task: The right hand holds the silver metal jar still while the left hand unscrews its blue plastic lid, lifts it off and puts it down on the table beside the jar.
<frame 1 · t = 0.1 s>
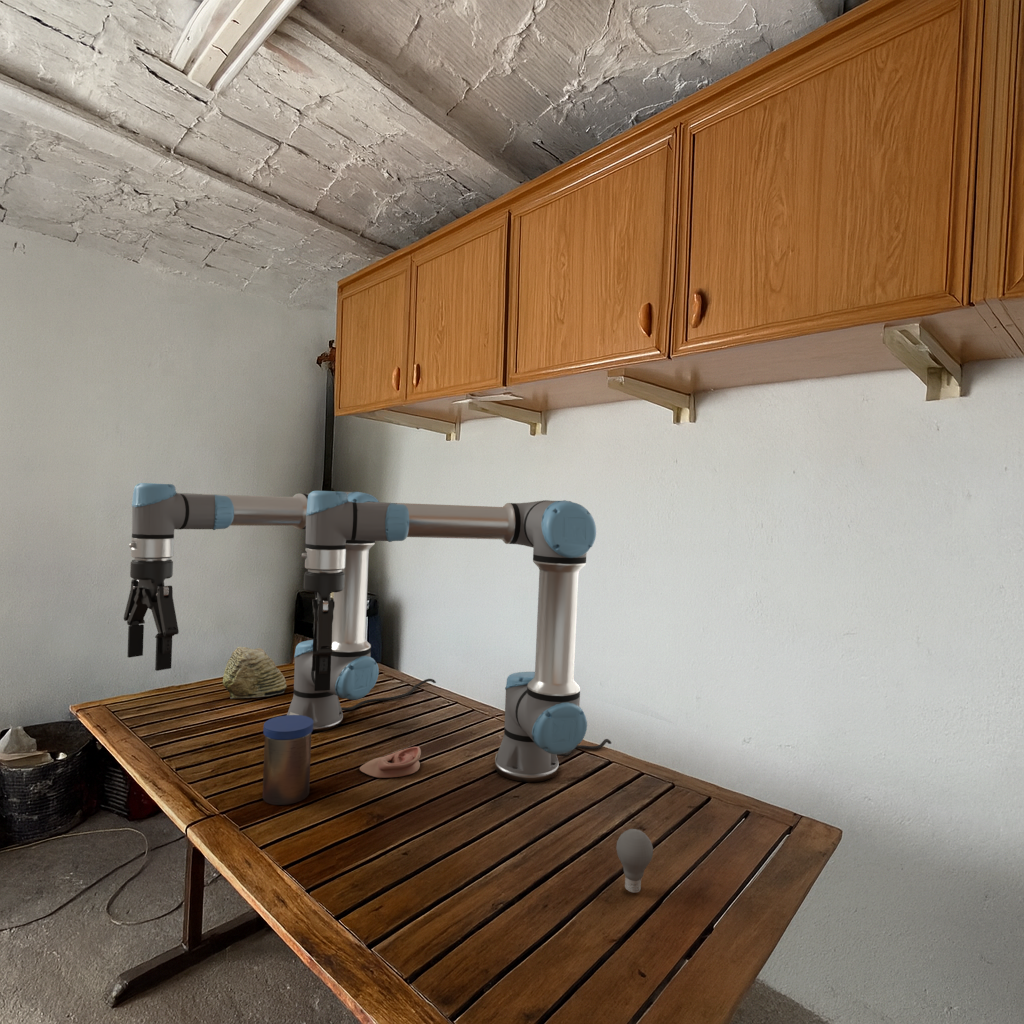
left hand: (148, 662, 129), 28 cm above the table, tool pointing down, fingers open, 13 cm apart
right hand: (320, 679, 123), 28 cm above the table, tool pointing down, fingers open, 13 cm apart
jar: (286, 794, 134), on the table
anatomical model: (390, 768, 149), on the table
fossil: (254, 694, 198), on the table
light bulb: (632, 891, 106), on the table
lid: (288, 724, 134), point 15 cm above the table, screwed on, not yet turned
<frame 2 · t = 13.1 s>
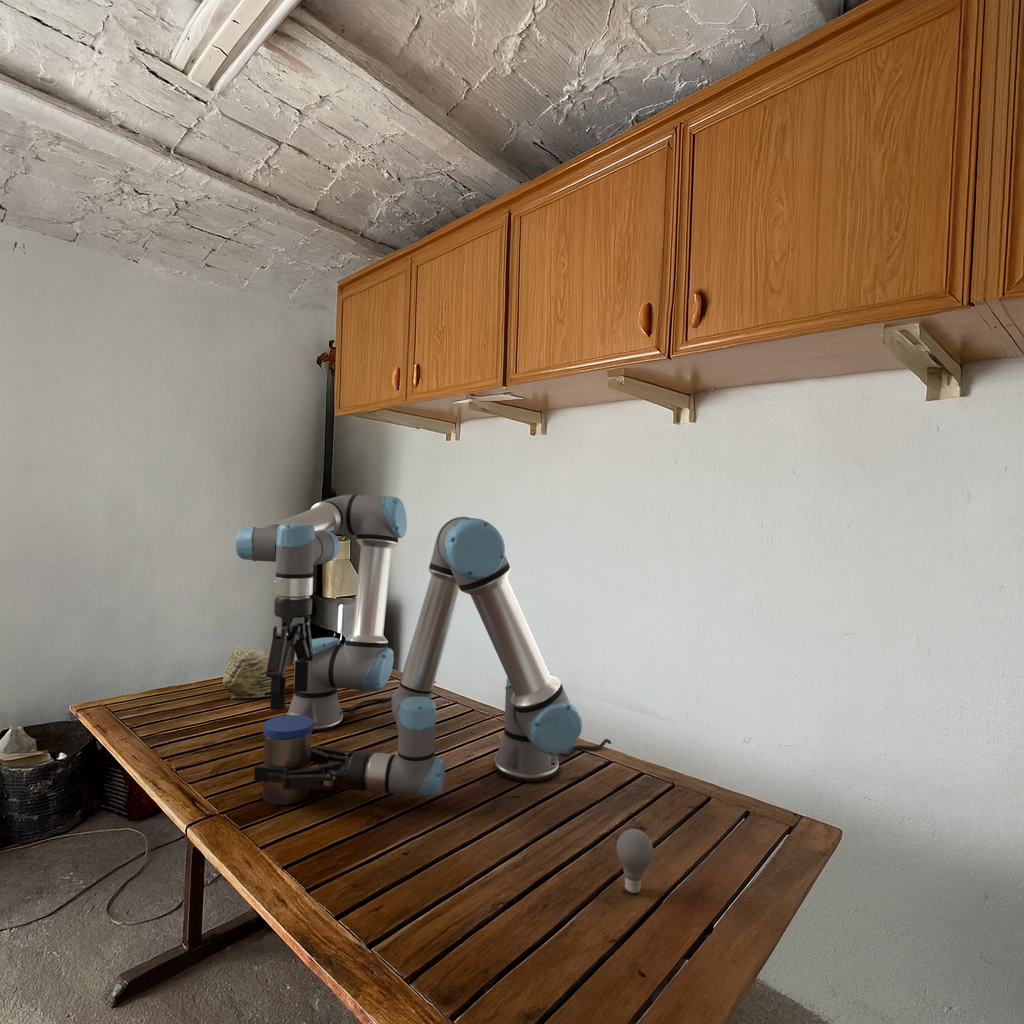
left hand: (289, 699, 134), 20 cm above the table, tool pointing down, fingers open, 11 cm apart
right hand: (267, 762, 134), 6 cm above the table, tool horizontal, fingers closed on jar, 9 cm apart
jar: (286, 794, 134), on the table, touching right hand
everything else where it was.
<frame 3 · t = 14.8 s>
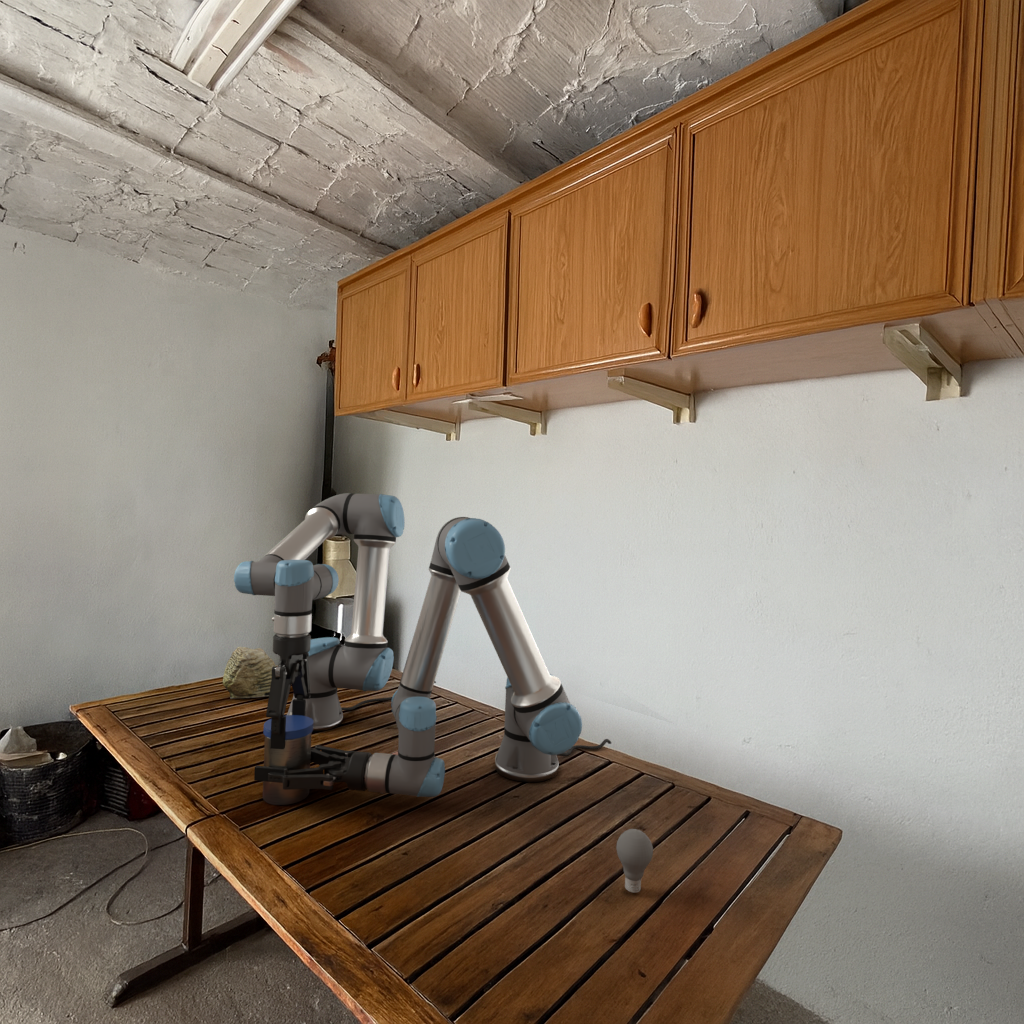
left hand: (288, 738, 134), 12 cm above the table, tool pointing down, fingers closed on lid, 10 cm apart
right hand: (267, 762, 134), 6 cm above the table, tool horizontal, fingers closed on jar, 9 cm apart
jar: (286, 794, 134), on the table, touching right hand
lid: (288, 724, 134), point 15 cm above the table, screwed on, not yet turned, touching left hand
everything else where it was.
when the left hand's fingers open (12 cm above the table, at t = 16.4 s): lid stays where it is, point 15 cm above the table.
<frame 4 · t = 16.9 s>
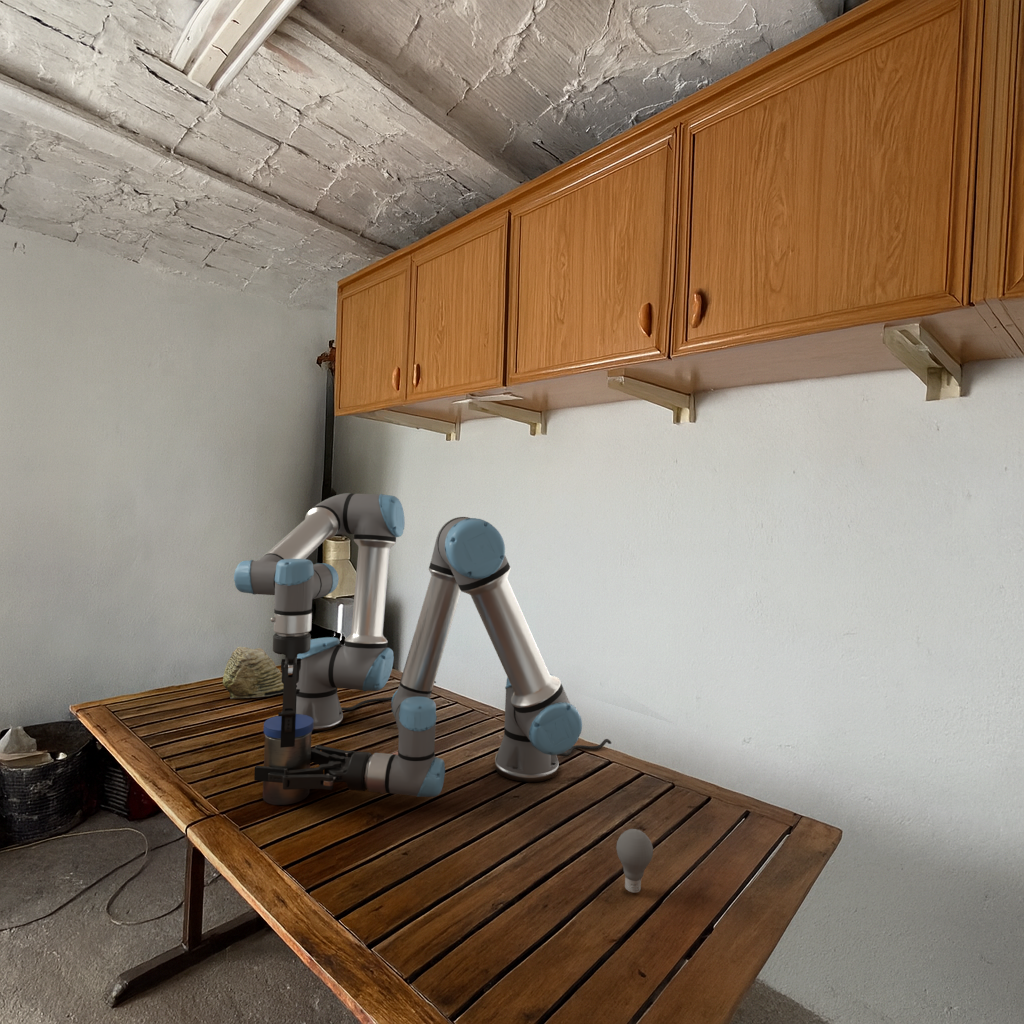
left hand: (288, 735, 134), 13 cm above the table, tool pointing down, fingers open, 11 cm apart
right hand: (267, 762, 134), 6 cm above the table, tool horizontal, fingers closed on jar, 9 cm apart
jar: (286, 794, 134), on the table, touching right hand
lid: (288, 723, 134), point 15 cm above the table, turned 84° so far, risen 0.2 cm, still on its thread
everything else where it was.
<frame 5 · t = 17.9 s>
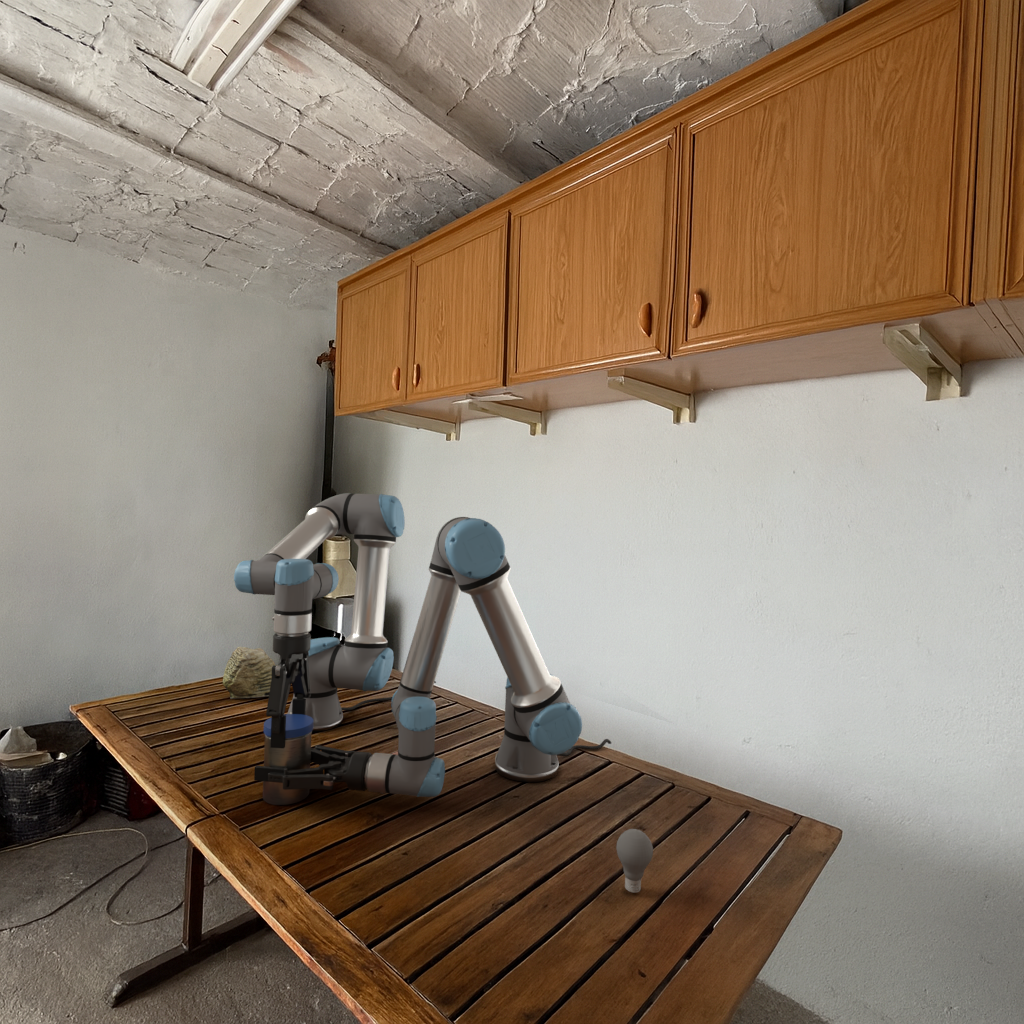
left hand: (288, 737, 134), 12 cm above the table, tool pointing down, fingers closed on lid, 10 cm apart
right hand: (267, 762, 134), 6 cm above the table, tool horizontal, fingers closed on jar, 9 cm apart
jar: (286, 794, 134), on the table, touching right hand
lid: (288, 723, 134), point 15 cm above the table, turned 84° so far, risen 0.2 cm, still on its thread, touching left hand
everything else where it was.
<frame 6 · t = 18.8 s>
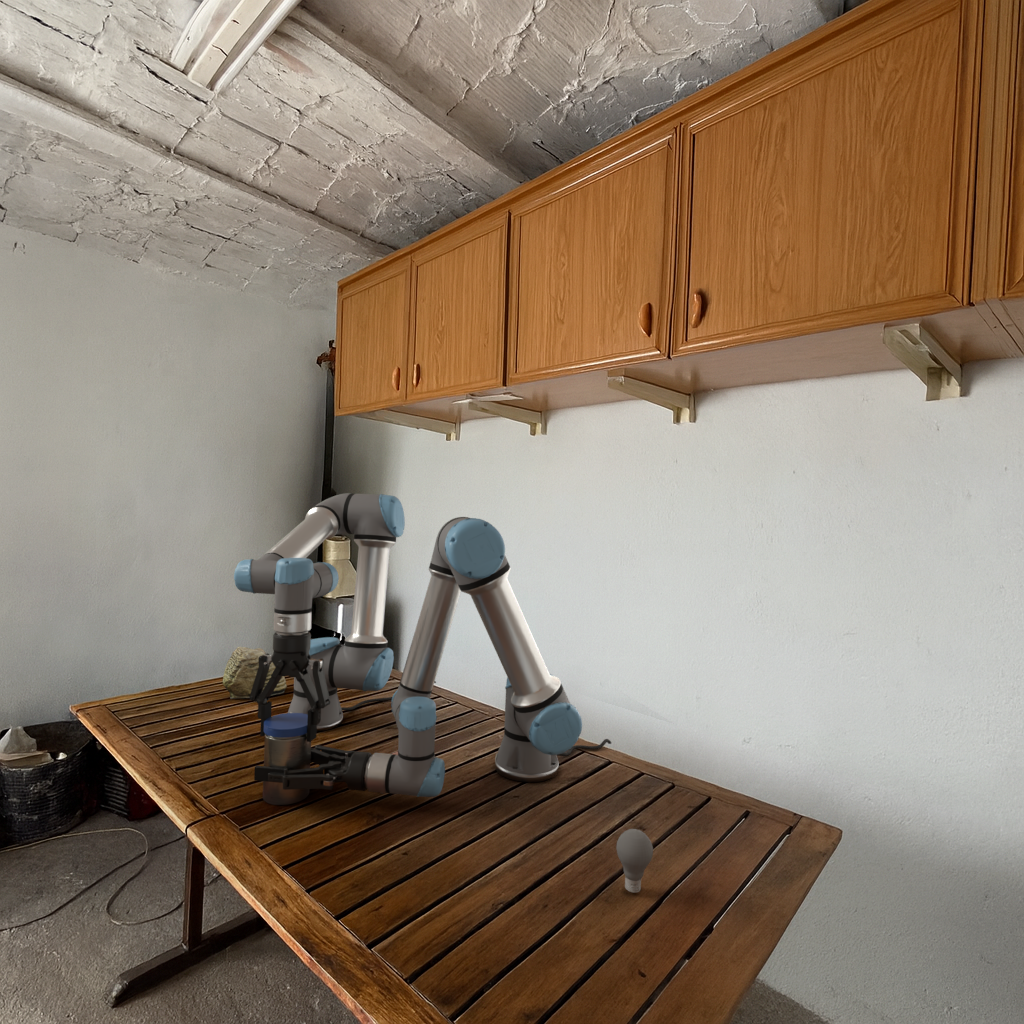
left hand: (288, 736, 134), 12 cm above the table, tool pointing down, fingers closed on lid, 10 cm apart
right hand: (267, 762, 134), 6 cm above the table, tool horizontal, fingers closed on jar, 9 cm apart
jar: (286, 794, 134), on the table, touching right hand
lid: (288, 722, 134), point 15 cm above the table, off its thread, touching left hand
everything else where it was.
when the left hand's fingers open (0 cm above the table, at t = 24.4 s): lid drops 2 cm, point 1 cm above the table.
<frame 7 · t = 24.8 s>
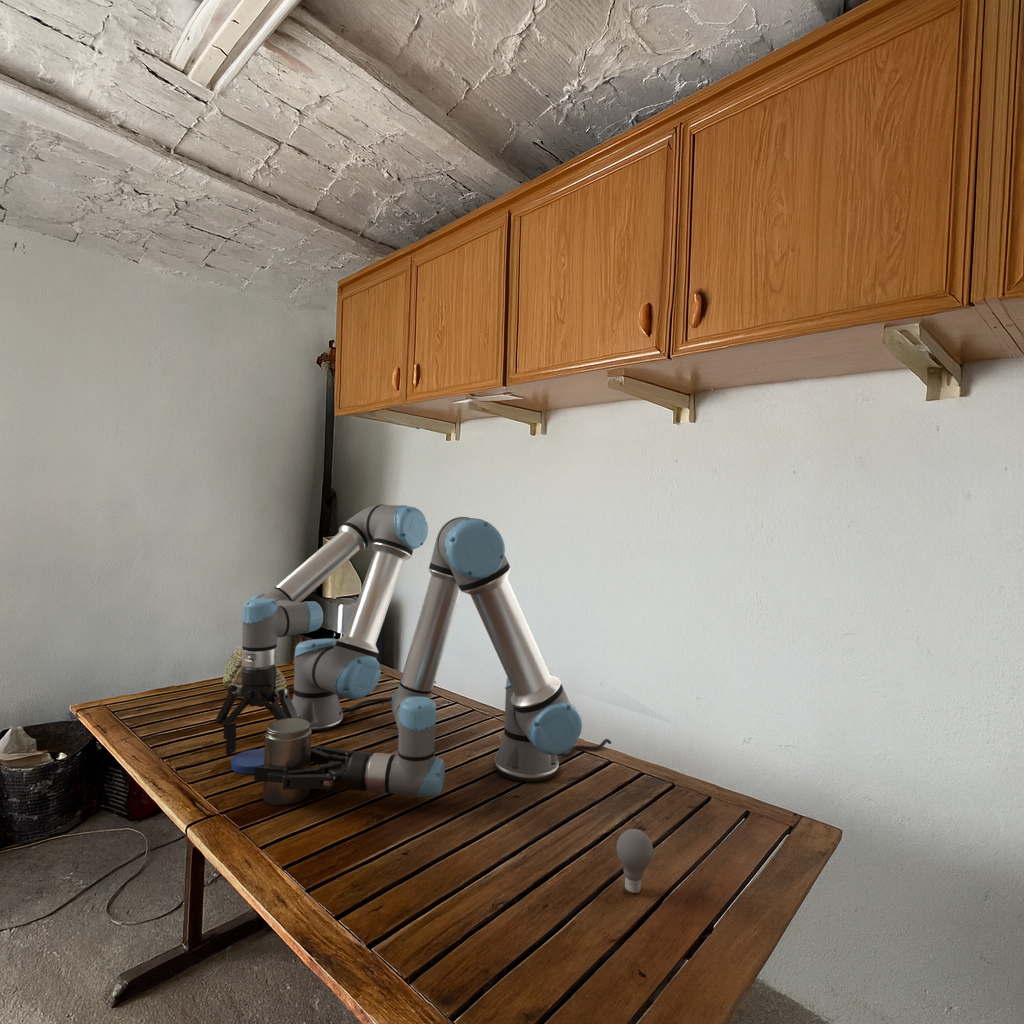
left hand: (257, 755, 148), 2 cm above the table, tool pointing down, fingers open, 13 cm apart
right hand: (267, 762, 134), 6 cm above the table, tool horizontal, fingers closed on jar, 9 cm apart
jar: (286, 794, 134), on the table, touching right hand
lid: (254, 759, 148), point 1 cm above the table, off its thread
everything else where it was.
when the right hand's fingers open (6 cm above the table, at t = 25.4 s): jar stays where it is, on the table.
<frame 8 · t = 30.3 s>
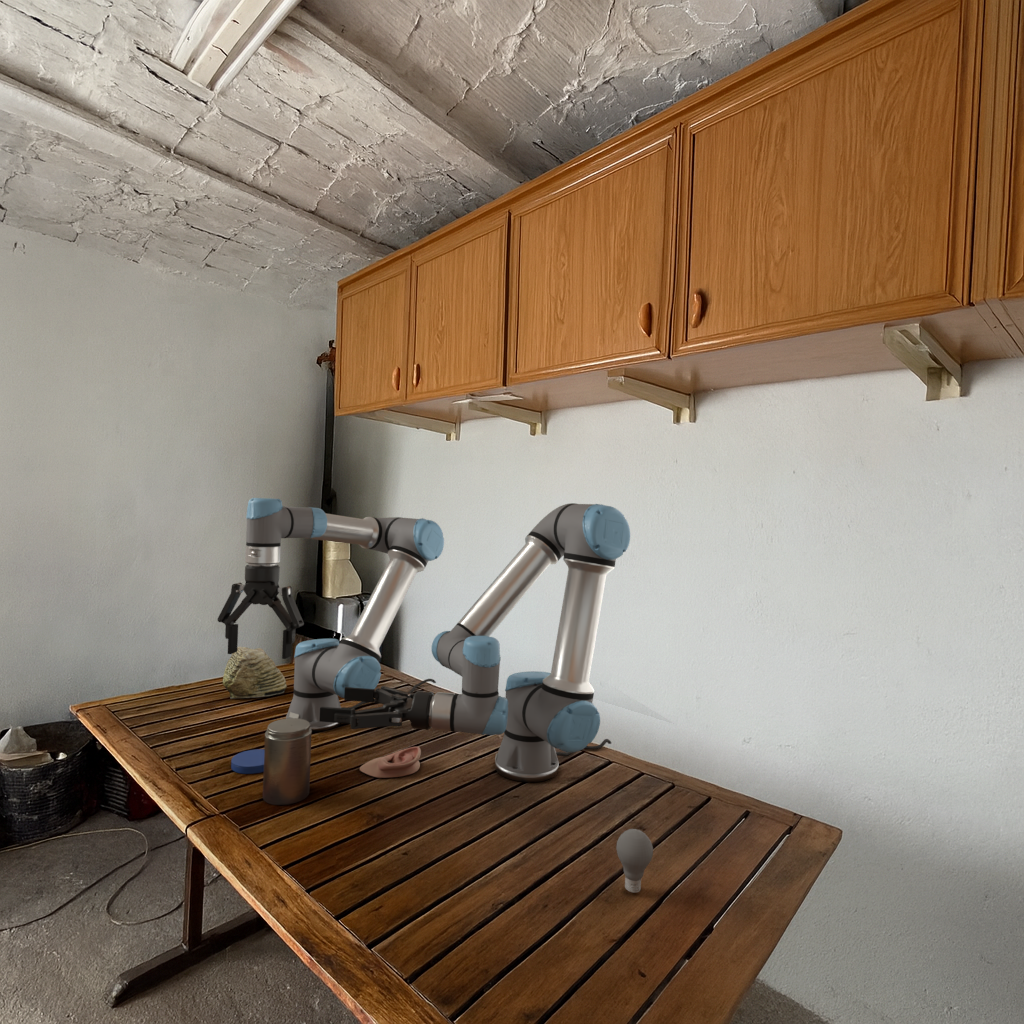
left hand: (259, 655, 148), 26 cm above the table, tool pointing down, fingers open, 13 cm apart
right hand: (333, 703, 133), 20 cm above the table, tool horizontal, fingers open, 13 cm apart
jar: (286, 794, 134), on the table
everything else where it was.
at the end: lid came off its thread; lid point 1.4 cm above the table; the left hand is holding nothing; the right hand is holding nothing; jar tilted 0°; jar moved 0.0 cm from its start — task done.
